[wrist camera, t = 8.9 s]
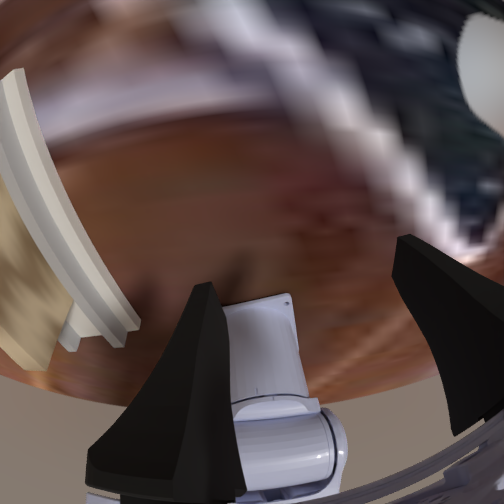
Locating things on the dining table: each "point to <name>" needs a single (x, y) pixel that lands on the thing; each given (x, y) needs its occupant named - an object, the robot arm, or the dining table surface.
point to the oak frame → (27, 293)
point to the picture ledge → (57, 224)
